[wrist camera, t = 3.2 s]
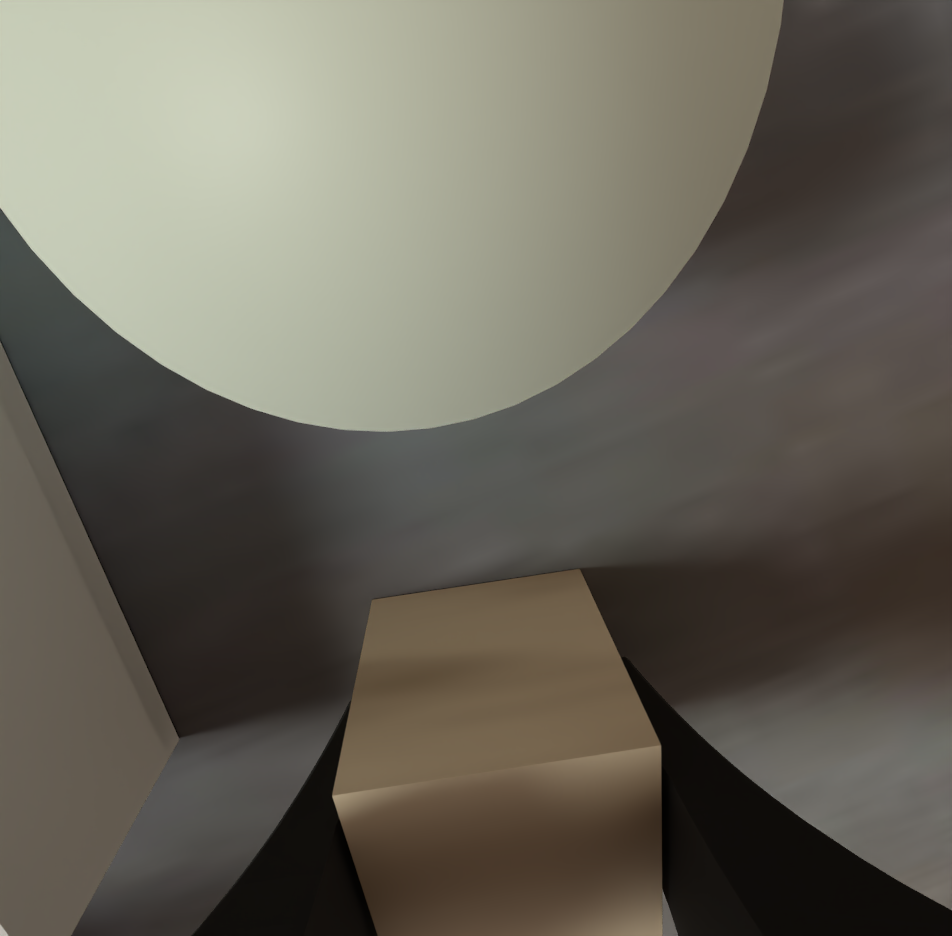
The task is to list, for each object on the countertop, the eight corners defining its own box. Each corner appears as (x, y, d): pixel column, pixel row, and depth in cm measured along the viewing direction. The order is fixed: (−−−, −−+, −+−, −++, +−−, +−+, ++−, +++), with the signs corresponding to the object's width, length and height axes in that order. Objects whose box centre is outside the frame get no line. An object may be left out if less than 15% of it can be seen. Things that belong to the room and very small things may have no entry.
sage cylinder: (561, 309, 10) (761, 380, 4) (311, 345, 10) (97, 477, 4) (539, -4, 9) (836, -819, 2) (236, 36, 9) (-392, -673, 2)
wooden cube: (590, 725, 14) (662, 944, 10) (409, 753, 14) (394, 986, 10) (579, 568, 13) (661, 745, 8) (372, 599, 13) (332, 795, 8)
